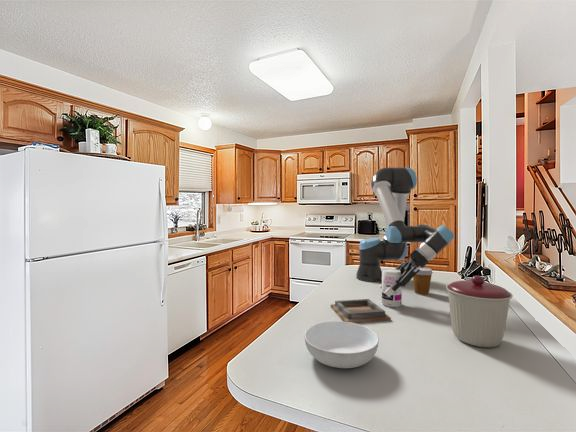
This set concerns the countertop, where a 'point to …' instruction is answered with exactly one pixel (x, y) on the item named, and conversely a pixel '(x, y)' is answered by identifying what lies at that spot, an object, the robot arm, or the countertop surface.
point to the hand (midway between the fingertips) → (383, 291)
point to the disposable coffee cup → (422, 281)
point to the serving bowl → (341, 343)
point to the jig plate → (359, 311)
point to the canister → (478, 311)
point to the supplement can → (387, 281)
